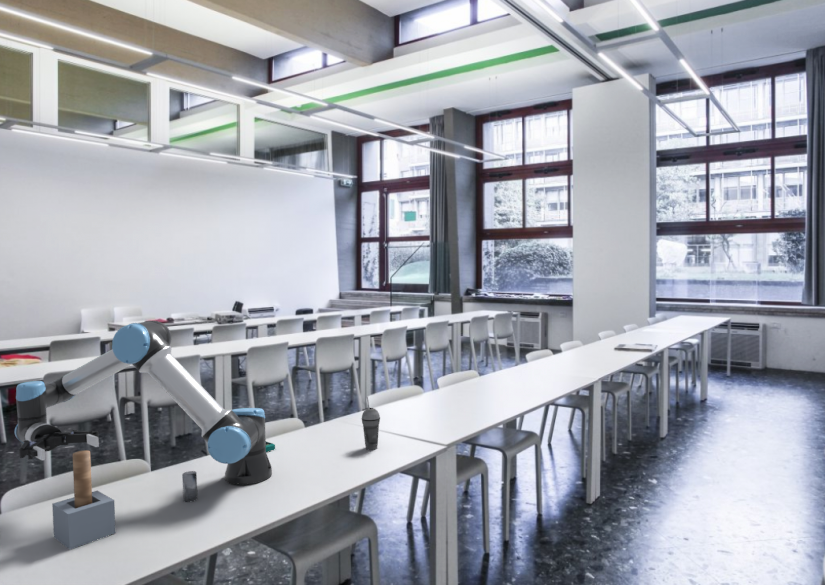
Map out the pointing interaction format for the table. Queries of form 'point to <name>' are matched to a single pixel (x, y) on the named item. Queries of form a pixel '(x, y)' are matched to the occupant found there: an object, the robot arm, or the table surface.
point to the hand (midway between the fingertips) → (71, 448)
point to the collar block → (83, 520)
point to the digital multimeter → (269, 446)
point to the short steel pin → (189, 486)
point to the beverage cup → (371, 427)
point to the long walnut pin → (82, 478)
